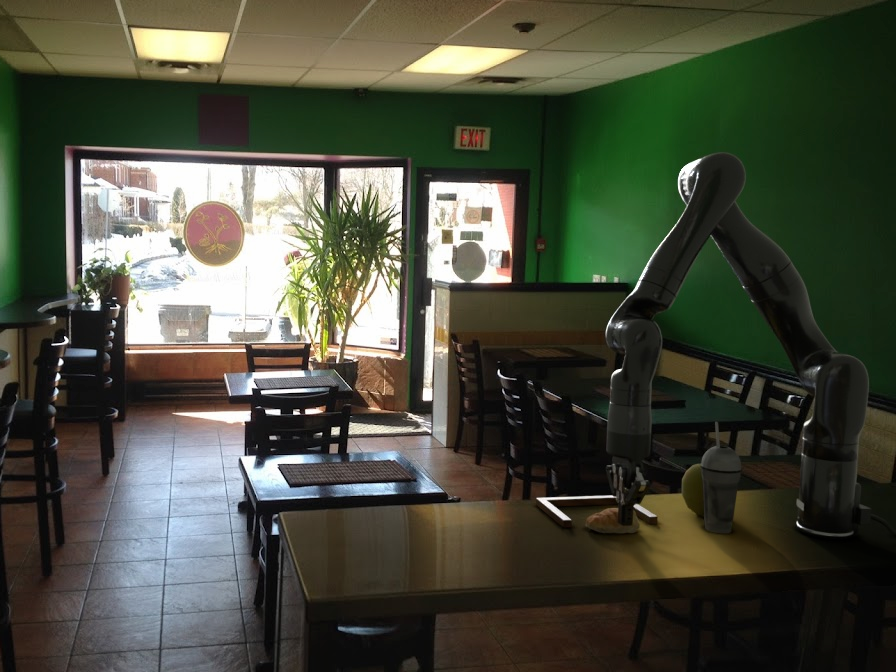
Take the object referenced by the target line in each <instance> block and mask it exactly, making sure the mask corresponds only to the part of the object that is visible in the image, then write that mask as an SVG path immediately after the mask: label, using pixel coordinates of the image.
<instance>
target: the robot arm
mask: <svg viewBox="0 0 896 672" xmlns="http://www.w3.org/2000/svg"><path fill="white" fill-rule="evenodd" d="M746 179H747V174H746V169H745V166H744V163H743V162H742V161H741V159H740V158H738V157H737V156H736V155H734V154H732V153H730V152H721V151H719V152H715V153H710V154H708V155H705V156H702V157H700V158H698V159H696V160H693V161H691V162H689V163H688V164H686V165H685V166H683V168H682V169H681V171H680V172H679V175H678V179H677V187H678V192H679V194H680V197H681V199H682V201H683V202H684V203H685V205H686V207H685V209H684V211H683V213H682V214H681V216H680V217H679V219H678V221H677V222H676V224H674V227H673V228H672V229H671V230H670V232H669V233H668V234H667V236H666V237H665V238H664V239H663V241H662V242H661V243H660V244H659V246H658V247H657V248H656V249H655V251H654V253H652V256H651V257H650V259H649V261H648V262H647V264H646V266H645V267H644V269H643V271H642V273H641V275H640V277H639V279H638V281H637V283H636V285H635V288H634V289H633V291H632V292H631V293H630V294H629V295H628V296H627V297H626V298H625V300H623V302H621V304H620V306H619V307H618V308H617V309H616V311H615V312H614V313H613V315H612V316H611V318H610V320H609V321H608V323H607V326H606V330H605V341H606V344H607V346H608V348H609V349H610V350H611V351H613V352H614V353H616V354H619V355H624V360H623V363H622V367H621V368H620V369H616V370H615V371H614V372H612V374H611V378H610V391H609V392H610V393H609V407H608V412H607V426H606V449H605V450H606V453H607V454H608V455H609V456H612V459H611V460H612V464H611V465H606V466H605V472H606V476H607V480H608V484H609V488H610V491H611V495H612V496H613V497H616V501H617V503H618V504H617V508H618V523H619V524H621V525H622V526H631V525H632V524H633V506H634V505H636V504H638V505H641V503H642V501H644V498H645V496H646V494H647V493H648V491H649V489H650V487H651V482H650V480H645V478H644V476H643V474H644V466H643V465H644V464H643V461H644V459H647V458H649V457H650V455H651V446H652V445H651V443H652V425H653V424H652V423H653V422H652V421H653V416H652V415H653V414H652V393H653V391H652V390H653V389H652V388H653V383H652V382H653V379H654V377H655V374H656V371H657V367H658V364H659V361H660V356H661V353H662V348H663V335H662V331H661V328H660V326H659V325H658V323H657V322H656V321H654V320H653V319H654V318H655V317H656V316H657V315H659V314H661V313H664V312H668V311H669V310H670V309H671V307H672V306H673V304H674V302H675V300H676V299H677V297H678V295H679V293H680V291H681V289H682V287H683V285H684V283H685V282H686V279H687V277H688V275H689V274H690V271H691V269H692V267H693V266H694V264H695V263H696V260H697V258H698V257H699V255H700V253H701V252H702V250H703V248H704V246H705V245H706V243H707V242H708V240H709V238H710V237H711V239H712V240H713V241H714V242H715V244H716V246H717V247H718V249H719V250H720V252H721V254H722V256H723V257H724V259H725V260H726V262H727V263H728V265H729V267H730V268H731V270H732V271H733V273H734V274H735V277H736V278H737V280H738V281H739V283H740V285H741V286H742V288H743V290H744V291H745V293H746V295H747V296H748V298H749V299H750V301H751V302H752V304H753V305H754V307H755V308H756V309H757V311H758V313H759V314H760V316H761V318H763V320H764V322H765V323H766V325H767V326H768V327H769V329H770V330H771V332H772V333H773V334H774V336H775V337H776V338H777V340H778V342H779V343H780V345H781V347H782V348H783V351H784V352H785V354H786V356H787V358H788V360H789V362H790V364H791V366H792V369H793V372H795V375H796V377H797V379H798V381H799V383H800V385H801V387H802V388H803V389H804V391H805V392H807V394H808V395H810V396H811V397H813V398H814V401H813V411H812V414H811V417H810V419H808V420H806V421H804V423H803V424H802V425H803V426H802V439H801V456H800V457H801V458H800V472H799V487H798V489H799V491H798V498H796V507H797V520H796V527H795V528H796V530H798V531H799V532H801V533H803V534H804V535H808V536H811V537H814V538H820V539H826V540H839V541H840V540H849V539H852V538H853V537H858V536H859V526H871V520H873V521H876V522H878V523H879V524H881V525H882V526H884V528H886V529H887V531H888V532H889V533H890V534H891V535H893V536H894V537H896V530H895V529H894V527H892V525H891V524H890V523H889V522H888V521H887V520H885V519H884V518H882V517H879V516H878V515H875V514H873V513H872V508H871V507H869V506H866V505H863V504H861V492H862V485H861V483H859V482H857V477H858V461H859V446H860V445H859V443H860V435H861V433H862V431H863V429H864V427H865V424H866V423H865V422H866V418H867V409H868V400H869V390H870V378H869V373H868V369H867V368H866V366H865V364H864V363H863V362H862V361H861V360H859V358H856V357H855V356H854V355H853V356H852V355H850V354H846V353H843V352H839V351H838V350H836V349H835V348H834V347H833V345H832V344H831V343H830V342H829V340H828V339H827V337H826V336H825V335H824V333H823V332H822V331H821V329H820V327H819V326H818V324H817V321H816V320H815V318H814V314H813V311H812V307H811V301H810V298H809V294H808V290H807V289H808V288H807V287H806V284H805V282H804V280H803V278H802V276H801V274H800V273H799V271H798V270H797V268H796V266H795V265H794V264H793V262H792V261H791V259H790V257H789V255H787V253H786V252H785V251H784V250H783V248H782V247H780V246H779V244H777V243H776V242H775V241H774V240H773V239H771V238H770V237H769V236H768V235H766V234H765V233H764V232H763V231H761V230H760V229H759V228H757V227H756V226H755V225H754V224H753V223H752V222H751V221H750V220H749V219H748V218H747V217H746V215H745V214H744V212H742V210H741V208H740V207H739V205H738V203H737V202H736V200H737V199H738V198H739V196H740V195H741V193H742V191H743V190H744V187H745V184H746Z"/></svg>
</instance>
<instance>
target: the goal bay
mask: <svg viewBox="0 0 896 672" xmlns="http://www.w3.org/2000/svg"><path fill="white" fill-rule="evenodd" d="M574 499H578V500H574ZM555 500H558V501H555ZM535 505H536V506H537V507H538V508H539V509H540V510H542V512H544V513H545V514H546V515H548V516H549V517H550V518H551V519H553V521H555V522H556V523H557V524H559V526H561V527H562V528H572V526H573V525H572V522H573V520H572V519H571V518H570V517H569V516H567V514H565V513H564V512H562V511H561V509H558V508H557V507H572V506H573V507H576V506H578V507H579V506H605V505H618V503H617V501H616V497H613V496H612V494H611V495H585V496H555V497H536V498H535ZM633 510H634V511H635V513H636V516H637V518H640V519H641V520H643V521H644V522H646V523H647V524H649V525H658V518H659V517H658V516H657V515H656V514H654V513H653V512H651V511H649V510H648V509H646V508H644V507H643V506H641V504H636V505H634V506H633Z"/></svg>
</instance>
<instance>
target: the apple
mask: <svg viewBox="0 0 896 672" xmlns="http://www.w3.org/2000/svg"><path fill="white" fill-rule="evenodd" d="M700 465H701V463H696V464H693V465H691V466H690V467H689V468H688V469H686V471H685V473H684V475H683V477H682V479H681V495H682V498H683V500H684V502H685V505H686V507H687V508H688V509H689V510H690V511H691V512H693V513H694V514H695V515H697V516H700V517H704V498H703V478H702V474H701V467H700Z"/></svg>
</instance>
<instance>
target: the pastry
mask: <svg viewBox="0 0 896 672" xmlns="http://www.w3.org/2000/svg"><path fill="white" fill-rule="evenodd" d="M585 528H588V529H590V530H593V531H595V532H597V533H599V534H601V533H602V534H611V535H613V534H626V533H629V534H634V533H636V532H638V530H639V529H640V528H641V525H640V522H639V517H638V516H636V513H635V511H634V510H633V524H632V525H631V526H622V525H621V524H619V523H618V507H610V508H606V509H603V510H602V511H600V512H595V513H594V514H592V515H590V516H588V517H586V520H585Z"/></svg>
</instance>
